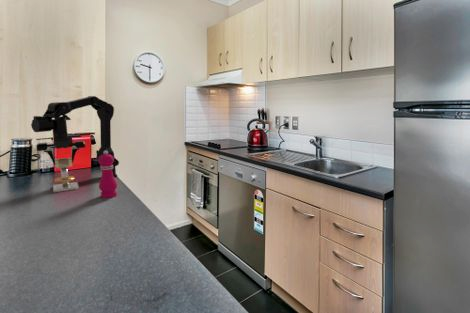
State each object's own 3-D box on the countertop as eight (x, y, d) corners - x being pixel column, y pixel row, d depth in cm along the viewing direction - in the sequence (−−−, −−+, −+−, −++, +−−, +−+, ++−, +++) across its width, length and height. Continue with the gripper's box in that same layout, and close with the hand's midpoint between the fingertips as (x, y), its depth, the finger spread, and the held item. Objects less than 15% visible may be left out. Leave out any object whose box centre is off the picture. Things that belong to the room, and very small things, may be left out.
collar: (55, 165, 131) (54, 159, 130) (71, 163, 134) (71, 157, 134) (55, 168, 125) (54, 161, 125) (72, 166, 129) (71, 160, 128)
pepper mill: (96, 196, 119) (92, 151, 116) (110, 192, 126) (107, 148, 122) (107, 199, 116) (103, 152, 112) (121, 194, 122) (118, 150, 119)
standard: (53, 186, 133) (51, 166, 131) (77, 183, 139) (75, 164, 137) (53, 192, 125) (50, 170, 123) (78, 188, 130) (76, 168, 128)
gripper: (33, 133, 115) (38, 169, 118) (84, 130, 125) (87, 164, 128) (35, 130, 124) (39, 164, 127) (82, 129, 134) (85, 160, 137)
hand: (63, 163), depth 130 cm, fingers closed on collar, 7 cm apart
